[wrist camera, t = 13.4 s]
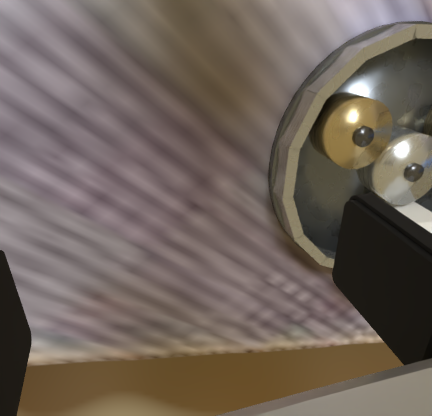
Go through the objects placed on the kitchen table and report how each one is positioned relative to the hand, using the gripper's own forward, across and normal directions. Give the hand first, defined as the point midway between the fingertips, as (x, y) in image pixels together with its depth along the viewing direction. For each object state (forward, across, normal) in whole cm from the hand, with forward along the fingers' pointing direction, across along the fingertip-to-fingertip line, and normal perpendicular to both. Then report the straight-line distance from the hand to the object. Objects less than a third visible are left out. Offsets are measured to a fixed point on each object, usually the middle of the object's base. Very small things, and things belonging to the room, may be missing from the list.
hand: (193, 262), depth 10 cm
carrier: (+27, -29, +10) cm, 41 cm away
